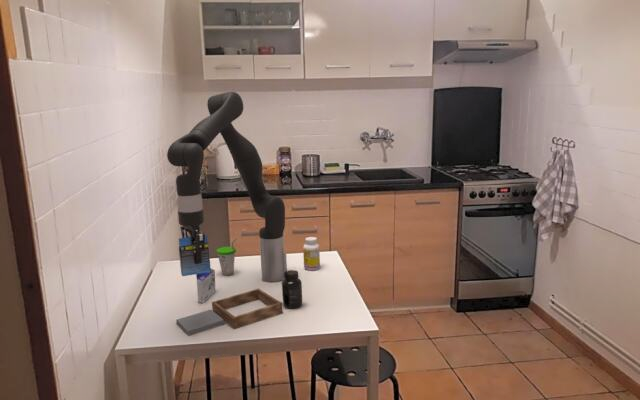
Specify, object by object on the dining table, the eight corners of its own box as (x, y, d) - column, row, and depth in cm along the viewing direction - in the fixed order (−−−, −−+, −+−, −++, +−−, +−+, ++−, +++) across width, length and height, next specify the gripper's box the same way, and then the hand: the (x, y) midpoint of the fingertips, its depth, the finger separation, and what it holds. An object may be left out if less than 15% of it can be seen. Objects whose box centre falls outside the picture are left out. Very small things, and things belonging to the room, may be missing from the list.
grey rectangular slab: (211, 313, 170) (210, 309, 170) (224, 324, 162) (223, 319, 162) (176, 323, 163) (176, 319, 163) (188, 335, 155) (188, 331, 155)
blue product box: (209, 268, 162) (206, 231, 159) (211, 272, 158) (208, 235, 155) (180, 272, 159) (177, 235, 156) (181, 276, 155) (178, 238, 153)
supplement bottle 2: (302, 266, 212) (301, 236, 209) (317, 264, 213) (317, 235, 210) (305, 271, 205) (304, 241, 203) (321, 269, 207) (320, 239, 204)
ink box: (203, 303, 178) (201, 272, 176) (197, 303, 179) (195, 272, 176) (216, 290, 189) (214, 261, 186) (210, 290, 190) (208, 261, 187)
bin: (258, 297, 182) (258, 288, 181) (282, 312, 169) (282, 303, 168) (212, 311, 171) (211, 302, 170) (234, 328, 159) (233, 318, 158)
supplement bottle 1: (305, 302, 177) (304, 269, 174) (298, 310, 171) (297, 277, 168) (287, 299, 179) (285, 268, 176) (279, 307, 173) (278, 275, 170)
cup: (213, 275, 204) (211, 239, 201) (227, 269, 211) (224, 234, 207) (228, 278, 200) (226, 242, 197) (241, 272, 207) (239, 237, 203)
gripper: (211, 210, 151) (215, 264, 154) (192, 202, 162) (197, 253, 166) (187, 214, 146) (192, 270, 150) (170, 206, 158) (174, 258, 161)
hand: (194, 261), depth 158 cm, fingers closed on blue product box, 4 cm apart
